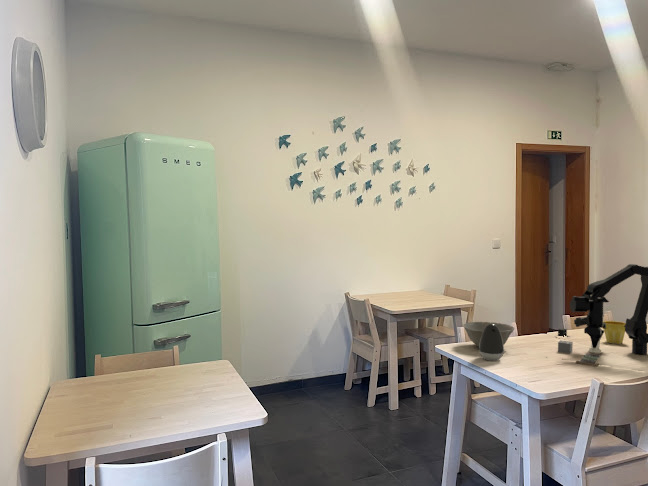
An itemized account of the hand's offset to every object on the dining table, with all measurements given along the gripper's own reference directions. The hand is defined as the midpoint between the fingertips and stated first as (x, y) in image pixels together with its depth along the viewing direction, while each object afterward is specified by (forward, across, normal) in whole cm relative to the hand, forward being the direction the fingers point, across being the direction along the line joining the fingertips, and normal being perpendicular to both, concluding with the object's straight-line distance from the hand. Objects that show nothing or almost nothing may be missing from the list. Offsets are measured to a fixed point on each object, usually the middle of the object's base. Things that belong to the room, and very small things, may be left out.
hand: (595, 347), depth 222 cm
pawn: (+2, 0, 0) cm, 2 cm away
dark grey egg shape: (+3, +37, -34) cm, 50 cm away
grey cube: (+3, +6, -11) cm, 13 cm away
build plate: (+4, -29, -19) cm, 35 cm away
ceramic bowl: (+3, +17, -42) cm, 45 cm away
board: (+3, +9, 0) cm, 10 cm away
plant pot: (+3, -31, +4) cm, 31 cm away
